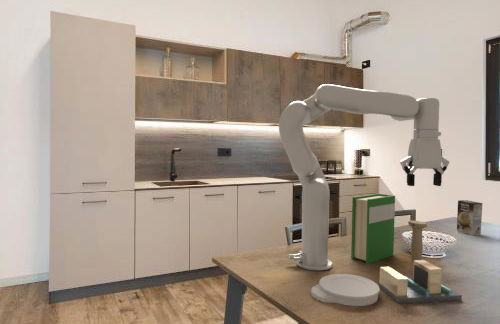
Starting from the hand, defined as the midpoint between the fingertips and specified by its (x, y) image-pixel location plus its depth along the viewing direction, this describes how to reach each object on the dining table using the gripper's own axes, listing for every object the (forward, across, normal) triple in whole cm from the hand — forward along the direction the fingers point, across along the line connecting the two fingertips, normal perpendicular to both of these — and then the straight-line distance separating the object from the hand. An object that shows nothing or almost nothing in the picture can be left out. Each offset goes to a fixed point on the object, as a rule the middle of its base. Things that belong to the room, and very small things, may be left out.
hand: (423, 185), depth 119 cm
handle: (+31, -6, -12) cm, 33 cm away
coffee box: (+31, -60, -51) cm, 84 cm away
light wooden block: (+29, +8, +15) cm, 34 cm away
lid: (+31, +33, +13) cm, 47 cm away
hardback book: (+31, +8, -19) cm, 37 cm away
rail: (+30, +11, +15) cm, 36 cm away
